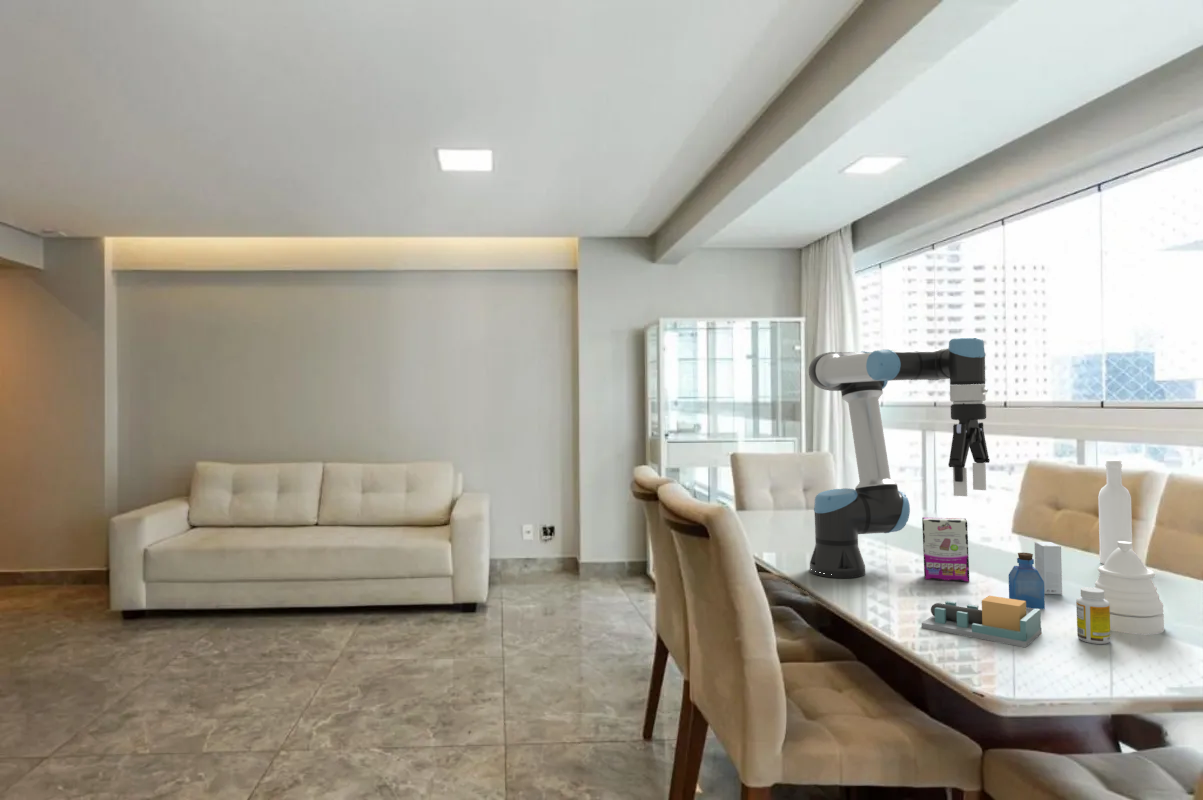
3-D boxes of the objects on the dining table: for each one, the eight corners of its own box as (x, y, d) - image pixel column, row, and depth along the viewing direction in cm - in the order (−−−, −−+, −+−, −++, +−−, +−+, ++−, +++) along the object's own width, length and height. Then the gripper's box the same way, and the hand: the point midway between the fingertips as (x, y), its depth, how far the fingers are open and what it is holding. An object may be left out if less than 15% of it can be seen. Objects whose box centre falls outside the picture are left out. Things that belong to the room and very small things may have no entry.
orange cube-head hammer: (927, 619, 161) (926, 591, 161) (935, 614, 164) (934, 587, 164) (1020, 636, 148) (1019, 606, 148) (1026, 630, 152) (1026, 601, 152)
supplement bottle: (1116, 641, 146) (1114, 590, 146) (1102, 647, 143) (1101, 594, 143) (1085, 634, 151) (1084, 584, 151) (1071, 639, 148) (1070, 588, 148)
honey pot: (1167, 638, 148) (1165, 548, 148) (1091, 629, 155) (1089, 543, 155) (1160, 621, 159) (1158, 538, 159) (1089, 613, 166) (1087, 533, 166)
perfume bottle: (1038, 602, 175) (1037, 551, 175) (1044, 609, 170) (1043, 557, 170) (1009, 600, 177) (1007, 550, 177) (1014, 607, 172) (1013, 556, 172)
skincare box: (1063, 594, 181) (1061, 546, 181) (1044, 594, 182) (1042, 546, 182) (1053, 588, 187) (1051, 541, 187) (1034, 588, 188) (1033, 541, 188)
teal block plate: (921, 627, 158) (920, 604, 158) (941, 615, 167) (941, 593, 167) (1025, 647, 144) (1024, 621, 144) (1041, 632, 153) (1041, 608, 153)
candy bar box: (968, 578, 200) (966, 517, 200) (969, 582, 195) (968, 520, 195) (923, 575, 204) (921, 516, 204) (923, 579, 199) (922, 519, 199)
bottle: (1132, 562, 213) (1129, 459, 213) (1134, 568, 206) (1131, 461, 206) (1099, 560, 217) (1096, 458, 217) (1100, 565, 211) (1097, 460, 211)
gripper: (967, 403, 162) (969, 499, 162) (1001, 401, 180) (1003, 488, 180) (932, 404, 167) (934, 497, 167) (968, 402, 185) (970, 486, 185)
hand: (970, 492), depth 173 cm, fingers open, 13 cm apart
